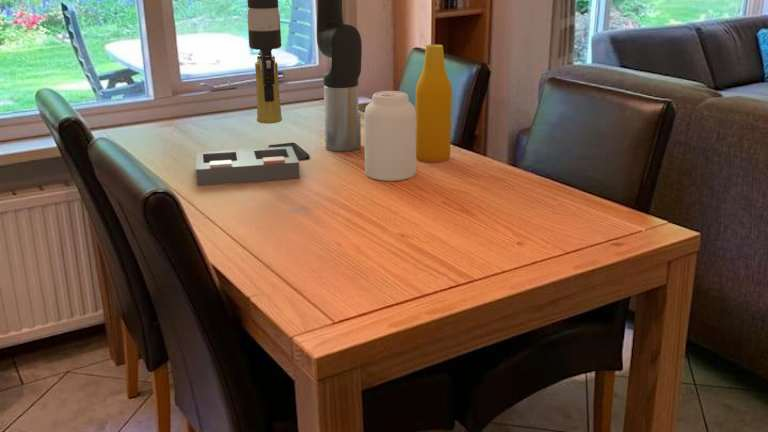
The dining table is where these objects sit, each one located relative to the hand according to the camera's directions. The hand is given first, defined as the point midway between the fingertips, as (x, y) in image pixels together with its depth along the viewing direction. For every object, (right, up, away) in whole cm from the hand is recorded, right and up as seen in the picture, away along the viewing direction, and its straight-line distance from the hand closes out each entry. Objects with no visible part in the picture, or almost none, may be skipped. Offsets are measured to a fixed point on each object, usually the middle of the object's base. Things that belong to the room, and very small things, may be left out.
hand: (268, 98), depth 185 cm
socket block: (-6, -18, +3) cm, 19 cm away
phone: (+2, -12, +20) cm, 24 cm away
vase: (0, -5, +2) cm, 6 cm away
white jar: (+30, -18, +2) cm, 35 cm away
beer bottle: (+41, -13, +15) cm, 45 cm away
